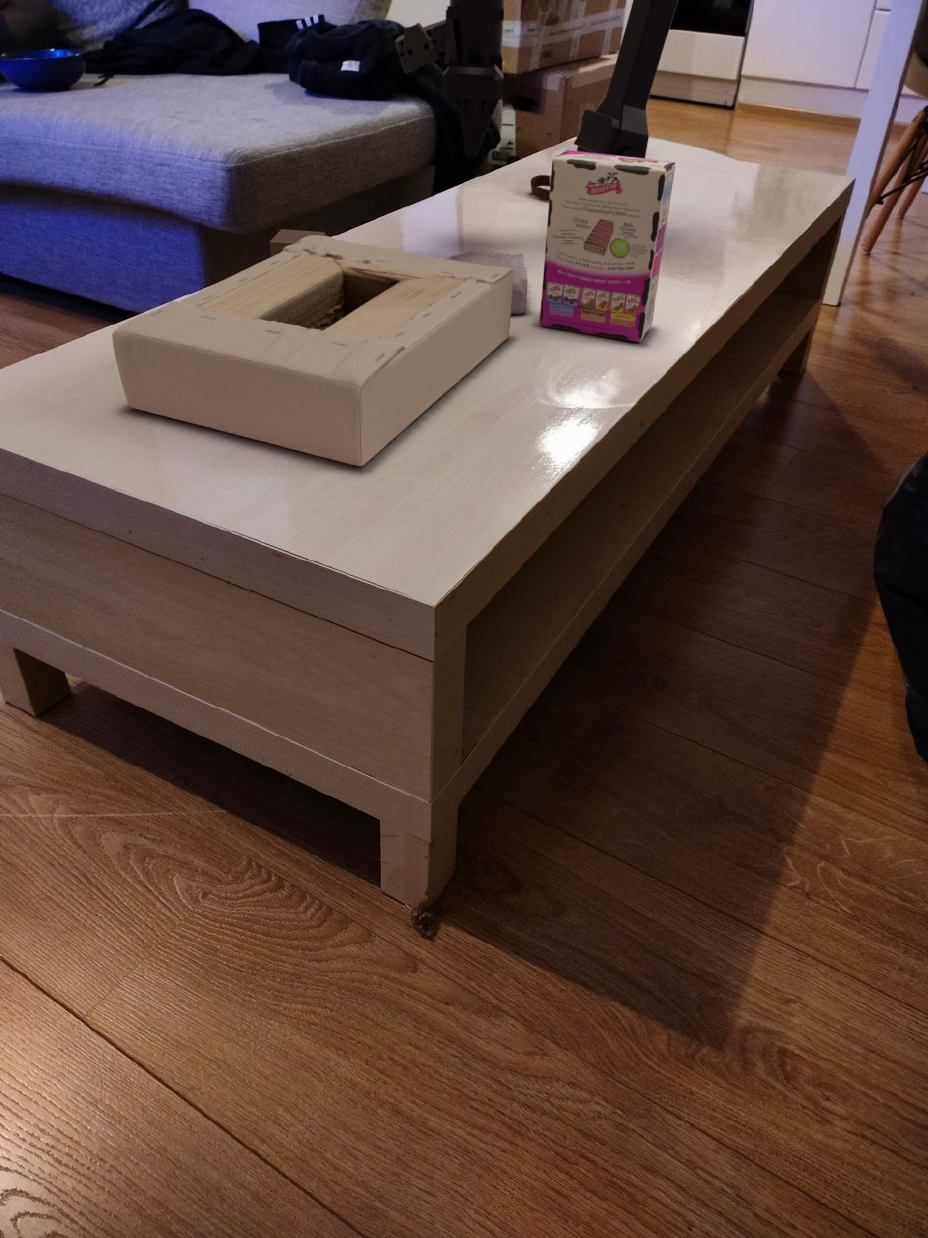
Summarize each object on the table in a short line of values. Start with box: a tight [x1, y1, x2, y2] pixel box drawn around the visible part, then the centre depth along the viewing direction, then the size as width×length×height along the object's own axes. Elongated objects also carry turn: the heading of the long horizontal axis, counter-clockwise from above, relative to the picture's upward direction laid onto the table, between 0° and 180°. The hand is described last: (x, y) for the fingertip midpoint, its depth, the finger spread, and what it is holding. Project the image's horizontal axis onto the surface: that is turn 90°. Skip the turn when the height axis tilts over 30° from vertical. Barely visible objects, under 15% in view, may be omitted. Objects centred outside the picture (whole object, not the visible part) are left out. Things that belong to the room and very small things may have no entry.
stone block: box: [445, 249, 529, 315], centre depth 107 cm, size 12×5×10 cm
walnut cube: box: [268, 228, 326, 258], centre depth 108 cm, size 5×5×5 cm
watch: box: [530, 174, 551, 201], centre depth 142 cm, size 8×5×4 cm, turn 48°
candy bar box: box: [539, 149, 676, 343], centre depth 97 cm, size 11×5×16 cm, turn 68°
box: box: [111, 235, 513, 467], centre depth 88 cm, size 23×8×32 cm
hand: (470, 156), depth 110 cm, fingers closed
